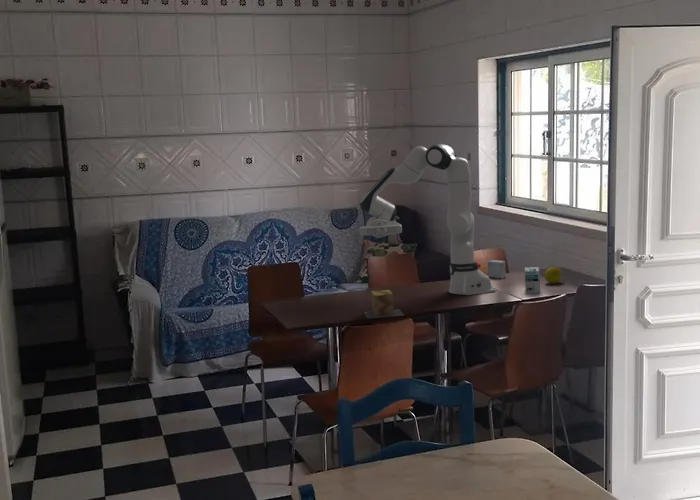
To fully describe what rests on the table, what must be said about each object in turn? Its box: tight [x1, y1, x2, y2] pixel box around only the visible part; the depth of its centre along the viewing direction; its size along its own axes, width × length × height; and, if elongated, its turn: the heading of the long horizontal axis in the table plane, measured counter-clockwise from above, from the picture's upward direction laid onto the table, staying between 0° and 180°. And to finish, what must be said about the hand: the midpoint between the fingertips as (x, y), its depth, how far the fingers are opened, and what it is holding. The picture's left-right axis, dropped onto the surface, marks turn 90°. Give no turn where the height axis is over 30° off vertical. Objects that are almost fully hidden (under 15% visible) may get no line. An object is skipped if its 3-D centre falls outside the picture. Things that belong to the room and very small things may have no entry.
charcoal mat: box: [363, 308, 405, 320], centre depth 338 cm, size 16×12×1 cm
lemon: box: [544, 266, 564, 285], centre depth 381 cm, size 11×8×8 cm
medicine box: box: [487, 259, 507, 279], centre depth 403 cm, size 8×4×9 cm, turn 47°
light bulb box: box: [524, 266, 541, 295], centre depth 365 cm, size 11×7×11 cm, turn 169°
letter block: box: [370, 289, 395, 316], centre depth 339 cm, size 8×9×9 cm
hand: (382, 231), depth 363 cm, fingers closed
